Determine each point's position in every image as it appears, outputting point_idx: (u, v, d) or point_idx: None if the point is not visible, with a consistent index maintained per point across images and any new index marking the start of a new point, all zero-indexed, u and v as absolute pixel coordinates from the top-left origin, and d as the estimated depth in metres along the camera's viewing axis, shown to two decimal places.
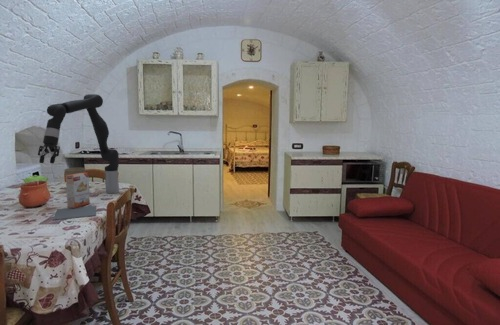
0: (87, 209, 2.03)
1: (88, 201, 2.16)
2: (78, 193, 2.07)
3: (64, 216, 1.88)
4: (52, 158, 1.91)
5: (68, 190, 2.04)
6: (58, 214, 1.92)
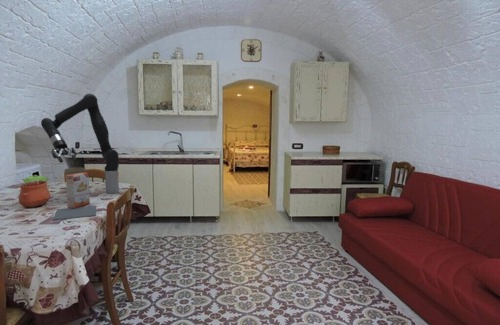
0: (87, 209, 2.03)
1: (88, 201, 2.16)
2: (78, 193, 2.07)
3: (64, 216, 1.88)
4: (58, 159, 2.11)
5: (68, 190, 2.04)
6: (58, 214, 1.92)
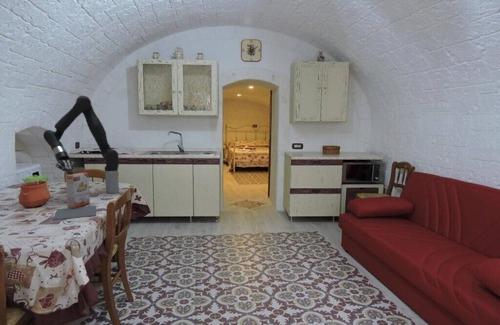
0: (87, 209, 2.03)
1: (88, 201, 2.16)
2: (78, 193, 2.07)
3: (64, 216, 1.88)
4: None
5: (68, 190, 2.04)
6: (58, 214, 1.92)
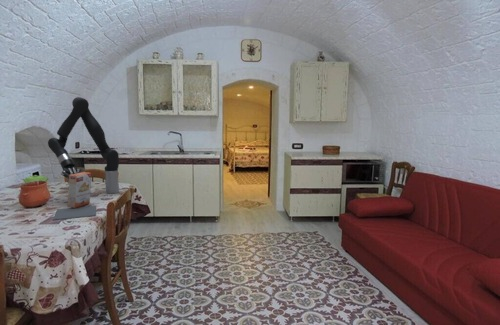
0: (87, 209, 2.03)
1: (88, 201, 2.16)
2: (79, 193, 2.06)
3: (64, 216, 1.88)
4: None
5: (70, 190, 2.03)
6: (58, 214, 1.92)
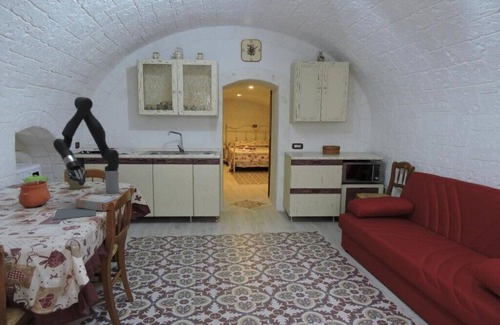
0: (87, 209, 2.03)
1: None
2: None
3: (64, 216, 1.88)
4: None
5: (91, 203, 2.02)
6: (58, 214, 1.92)
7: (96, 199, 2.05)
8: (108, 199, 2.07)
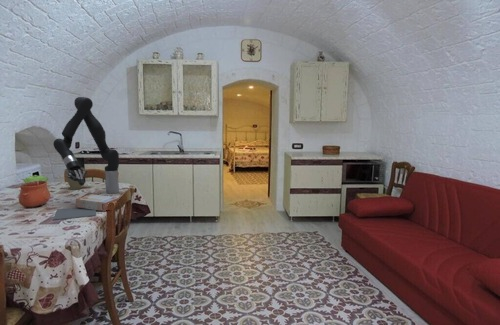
0: (87, 209, 2.03)
1: None
2: None
3: (64, 216, 1.88)
4: None
5: (91, 203, 2.02)
6: (58, 214, 1.92)
7: (96, 199, 2.05)
8: (108, 199, 2.07)
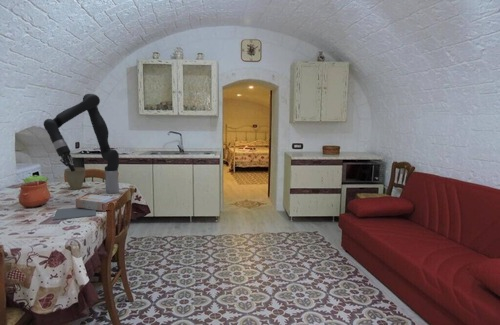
0: (87, 209, 2.03)
1: None
2: None
3: (64, 216, 1.88)
4: (70, 168, 2.14)
5: (91, 203, 2.02)
6: (58, 214, 1.92)
7: (96, 199, 2.05)
8: (108, 199, 2.07)
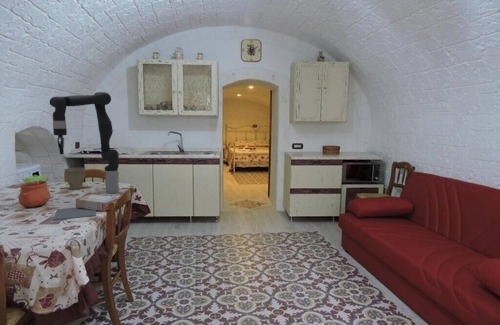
0: (87, 209, 2.03)
1: None
2: None
3: (64, 216, 1.88)
4: (60, 150, 2.13)
5: (91, 203, 2.02)
6: (58, 214, 1.92)
7: (96, 199, 2.05)
8: (108, 199, 2.07)
